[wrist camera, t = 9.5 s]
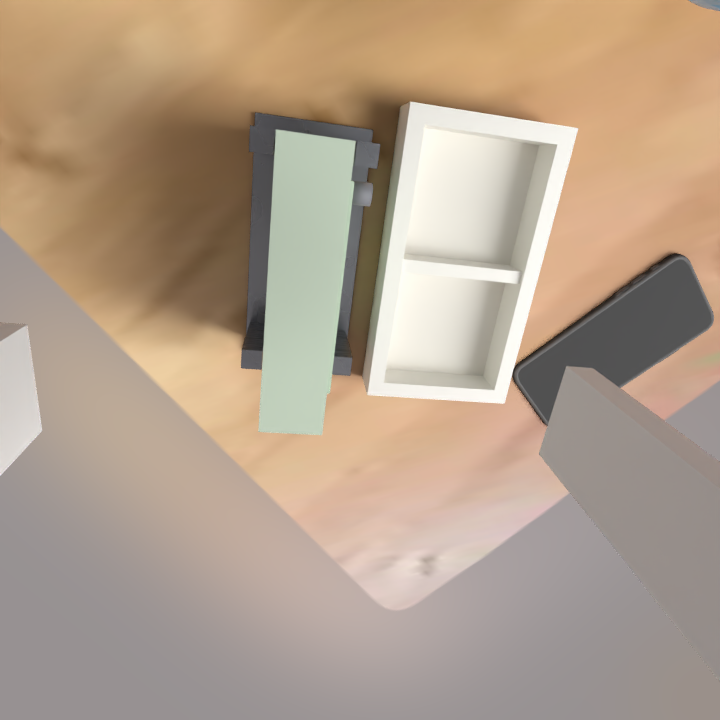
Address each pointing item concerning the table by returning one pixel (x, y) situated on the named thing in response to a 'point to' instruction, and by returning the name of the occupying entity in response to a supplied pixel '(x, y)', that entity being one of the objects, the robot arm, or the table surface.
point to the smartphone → (622, 333)
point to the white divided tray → (461, 251)
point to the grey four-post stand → (261, 220)
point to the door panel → (305, 276)
